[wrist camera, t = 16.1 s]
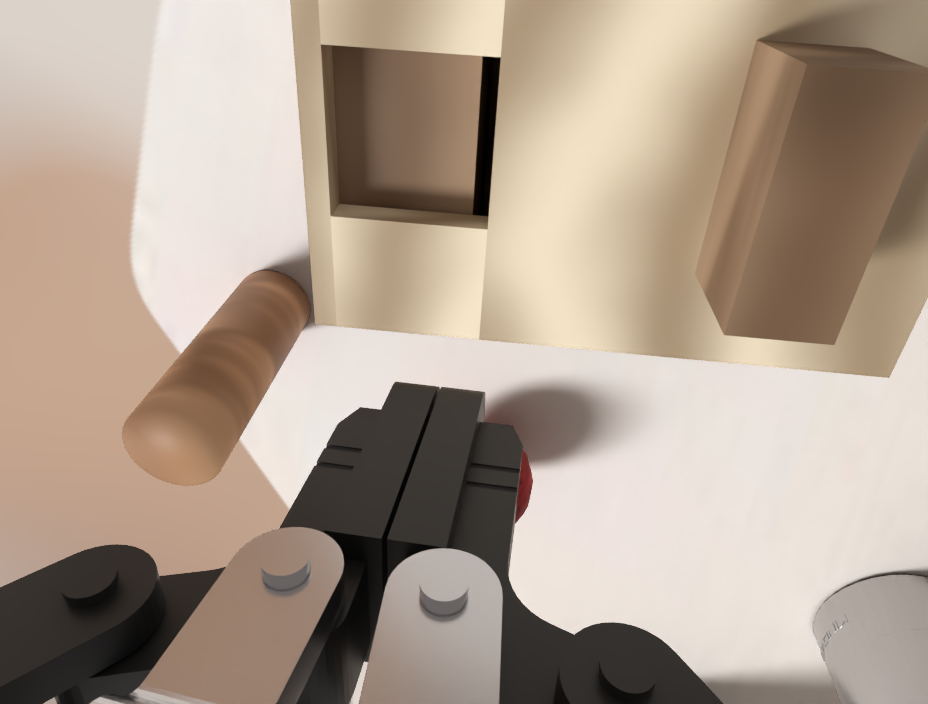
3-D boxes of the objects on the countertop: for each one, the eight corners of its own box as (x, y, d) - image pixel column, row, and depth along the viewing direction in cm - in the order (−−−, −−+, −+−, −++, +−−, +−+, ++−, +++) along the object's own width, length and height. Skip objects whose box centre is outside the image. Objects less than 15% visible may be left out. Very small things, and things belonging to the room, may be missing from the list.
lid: (1078, -87, 17) (1268, -95, 13) (874, 359, 24) (949, 453, 20) (294, -134, 18) (215, -156, 14) (323, 308, 25) (279, 387, 21)
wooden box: (910, -87, 25) (1077, -96, 17) (790, 260, 32) (869, 360, 25) (377, -119, 26) (310, -142, 18) (381, 225, 33) (335, 311, 25)
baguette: (307, 273, 35) (216, 412, 25) (312, 338, 37) (230, 490, 27) (232, 267, 35) (111, 401, 25) (242, 332, 37) (133, 480, 27)
